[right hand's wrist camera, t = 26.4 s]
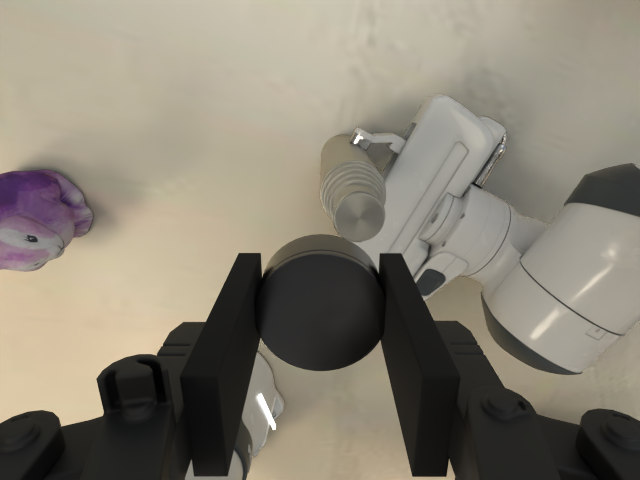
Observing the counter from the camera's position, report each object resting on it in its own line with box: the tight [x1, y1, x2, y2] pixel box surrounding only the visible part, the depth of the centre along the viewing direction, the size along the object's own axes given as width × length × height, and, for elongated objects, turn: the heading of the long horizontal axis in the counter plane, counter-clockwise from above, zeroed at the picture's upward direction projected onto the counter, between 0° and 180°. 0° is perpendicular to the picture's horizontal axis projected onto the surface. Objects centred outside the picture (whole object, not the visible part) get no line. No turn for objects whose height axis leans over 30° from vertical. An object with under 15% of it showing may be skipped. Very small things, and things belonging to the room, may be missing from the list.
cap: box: [254, 234, 386, 371], centre depth 14 cm, size 4×4×2 cm
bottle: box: [320, 135, 386, 243], centre depth 36 cm, size 5×5×24 cm
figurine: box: [0, 170, 93, 272], centre depth 42 cm, size 9×10×15 cm
